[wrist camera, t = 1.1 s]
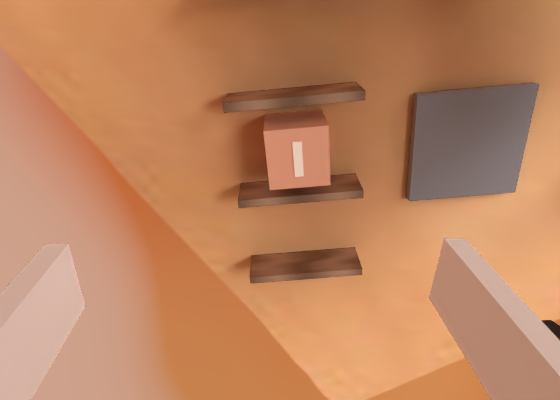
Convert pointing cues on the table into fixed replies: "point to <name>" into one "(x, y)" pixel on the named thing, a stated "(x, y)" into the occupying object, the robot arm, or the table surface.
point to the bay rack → (261, 195)
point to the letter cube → (297, 149)
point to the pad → (468, 141)
